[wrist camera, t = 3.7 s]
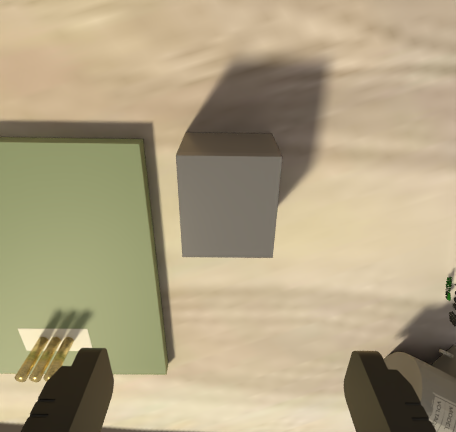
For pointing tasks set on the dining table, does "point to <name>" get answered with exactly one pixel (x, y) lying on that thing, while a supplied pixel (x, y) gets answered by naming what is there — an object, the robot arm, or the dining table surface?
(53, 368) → the header pins
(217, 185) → the block
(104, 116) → the dining table surface
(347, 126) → the dining table surface
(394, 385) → the robot arm
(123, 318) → the board
